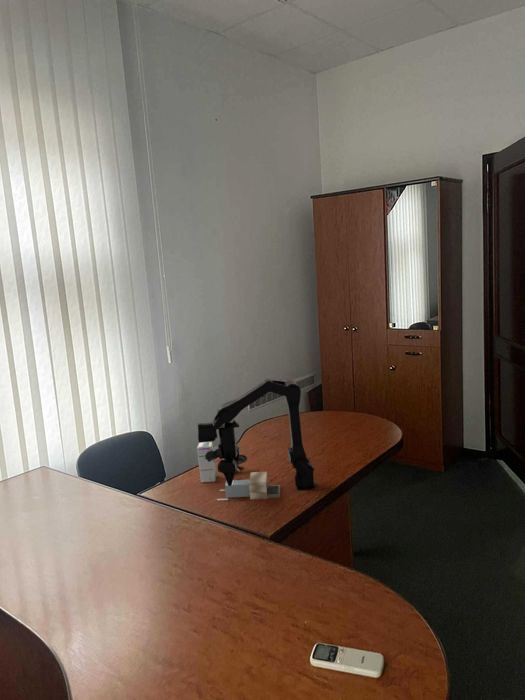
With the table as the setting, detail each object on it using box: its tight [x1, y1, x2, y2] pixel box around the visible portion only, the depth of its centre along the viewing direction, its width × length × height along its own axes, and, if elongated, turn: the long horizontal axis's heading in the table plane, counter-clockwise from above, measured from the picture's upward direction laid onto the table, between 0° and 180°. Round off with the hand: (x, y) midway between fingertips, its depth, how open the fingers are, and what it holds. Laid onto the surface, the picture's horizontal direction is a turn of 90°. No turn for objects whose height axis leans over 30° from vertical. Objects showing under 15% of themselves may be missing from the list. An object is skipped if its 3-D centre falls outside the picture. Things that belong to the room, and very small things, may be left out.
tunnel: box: [248, 471, 269, 500], centre depth 200 cm, size 6×10×6 cm, turn 177°
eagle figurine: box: [236, 454, 248, 473], centre depth 223 cm, size 8×7×9 cm
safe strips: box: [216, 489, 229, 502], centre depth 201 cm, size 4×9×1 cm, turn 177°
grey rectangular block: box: [224, 479, 250, 499], centre depth 200 cm, size 14×4×5 cm, turn 87°
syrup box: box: [196, 441, 217, 483], centre depth 216 cm, size 6×6×14 cm
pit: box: [267, 484, 281, 499], centre depth 200 cm, size 5×9×1 cm, turn 177°
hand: (231, 480), depth 200 cm, fingers open, 9 cm apart
